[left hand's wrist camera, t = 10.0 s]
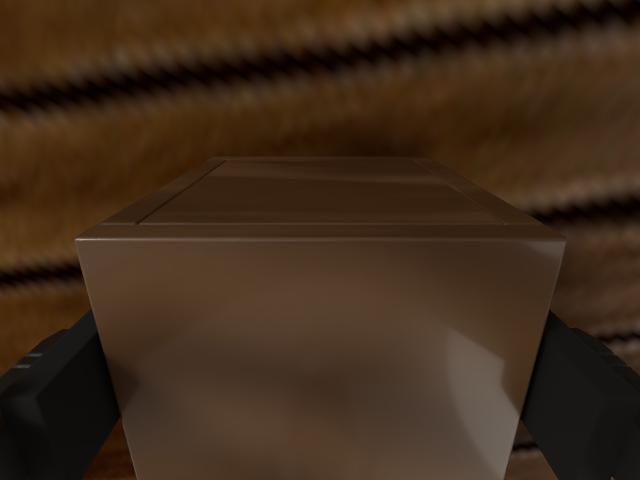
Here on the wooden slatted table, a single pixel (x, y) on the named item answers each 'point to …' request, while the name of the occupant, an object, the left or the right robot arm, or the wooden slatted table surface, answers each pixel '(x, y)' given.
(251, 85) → the wooden slatted table surface
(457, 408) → the cabinet
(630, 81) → the wooden slatted table surface
